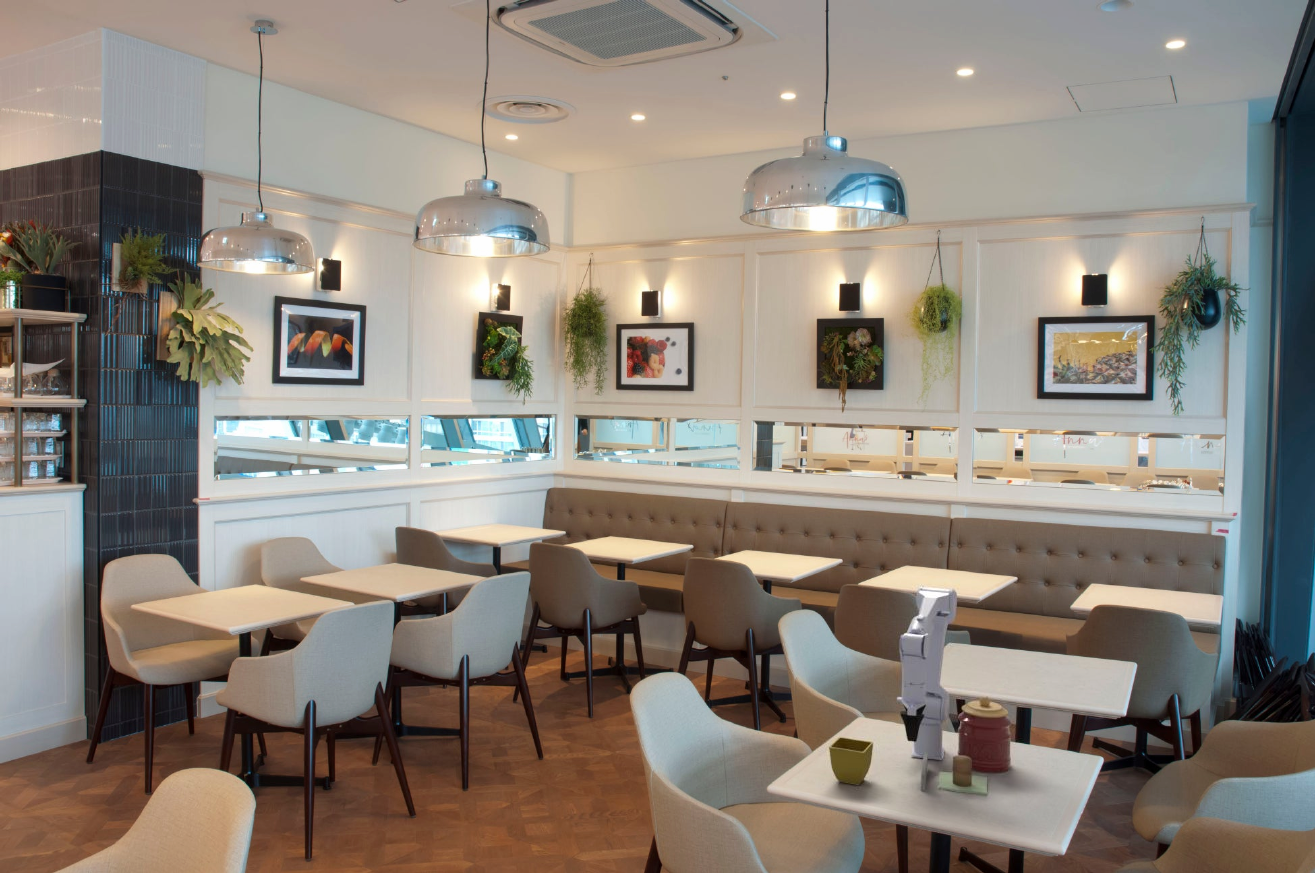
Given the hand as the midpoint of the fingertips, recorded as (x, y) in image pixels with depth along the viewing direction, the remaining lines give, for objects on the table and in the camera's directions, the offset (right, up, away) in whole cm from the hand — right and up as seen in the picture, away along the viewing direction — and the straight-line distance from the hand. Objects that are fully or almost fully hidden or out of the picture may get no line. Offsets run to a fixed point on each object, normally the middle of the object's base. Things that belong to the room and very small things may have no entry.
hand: (913, 736), depth 240 cm
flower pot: (-16, -10, -5) cm, 20 cm away
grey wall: (+2, -10, -4) cm, 10 cm away
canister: (+20, -10, +7) cm, 23 cm away
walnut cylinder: (+10, -9, -7) cm, 15 cm away
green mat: (+10, -10, -7) cm, 16 cm away
